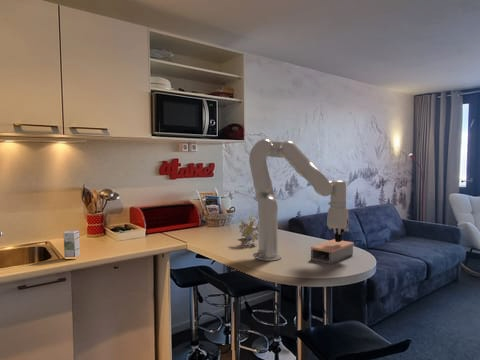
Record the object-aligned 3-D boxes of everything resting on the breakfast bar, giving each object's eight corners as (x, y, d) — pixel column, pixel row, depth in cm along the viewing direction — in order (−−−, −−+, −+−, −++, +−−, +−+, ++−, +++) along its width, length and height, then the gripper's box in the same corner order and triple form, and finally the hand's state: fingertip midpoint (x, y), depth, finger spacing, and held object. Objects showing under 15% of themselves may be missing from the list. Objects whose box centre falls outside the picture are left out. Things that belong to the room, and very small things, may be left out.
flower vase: (243, 248, 216) (242, 248, 192) (237, 220, 220) (236, 216, 196) (263, 244, 217) (265, 243, 192) (256, 216, 221) (258, 212, 196)
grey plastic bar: (324, 259, 163) (324, 255, 163) (321, 258, 164) (321, 254, 164) (342, 251, 176) (342, 248, 176) (339, 251, 177) (339, 247, 177)
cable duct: (330, 264, 158) (330, 253, 158) (310, 259, 166) (310, 249, 166) (352, 254, 174) (352, 244, 174) (333, 250, 182) (333, 241, 181)
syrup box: (80, 256, 180) (79, 229, 179) (75, 259, 174) (74, 232, 173) (69, 256, 180) (68, 230, 179) (64, 260, 174) (63, 232, 173)
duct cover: (331, 253, 158) (331, 250, 158) (310, 248, 166) (310, 246, 166) (353, 244, 173) (353, 242, 173) (333, 241, 181) (333, 239, 181)
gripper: (321, 204, 171) (321, 240, 172) (348, 207, 160) (348, 245, 161) (329, 203, 176) (329, 238, 177) (355, 205, 165) (356, 242, 166)
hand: (338, 241), depth 169 cm, fingers closed
